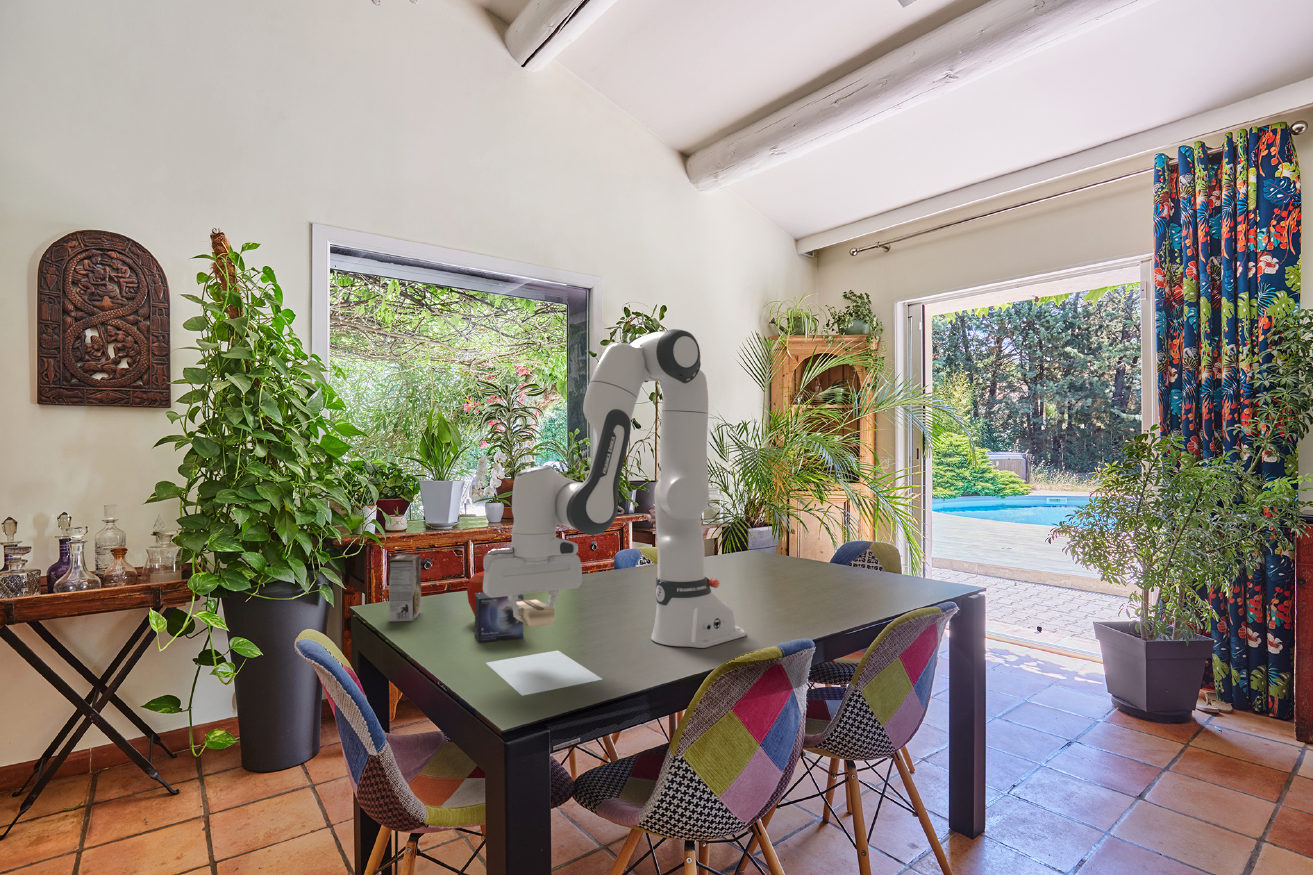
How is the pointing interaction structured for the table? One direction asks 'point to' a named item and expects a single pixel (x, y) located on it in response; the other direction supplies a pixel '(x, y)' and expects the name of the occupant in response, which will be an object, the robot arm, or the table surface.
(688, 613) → the robot arm
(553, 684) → the rubber mat
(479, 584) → the apple
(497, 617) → the small box
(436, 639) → the table surface
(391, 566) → the coffee box
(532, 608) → the slotted wooden box
